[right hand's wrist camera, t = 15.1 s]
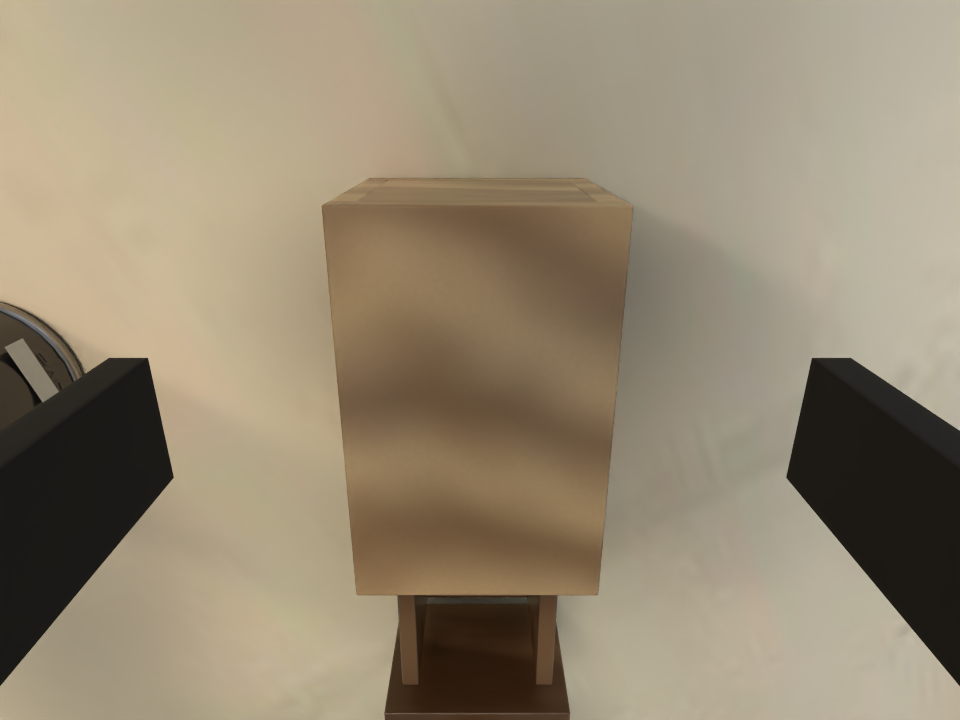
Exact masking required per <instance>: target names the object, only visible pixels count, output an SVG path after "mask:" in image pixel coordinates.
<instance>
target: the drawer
mask: <svg viewBox="0 0 960 720" xmlns="http://www.w3.org/2000/svg"><path fill="white" fill-rule="evenodd" d="M397 597H398V614H399V624H398V630H397V637H396V643H395V649H394V656H393V662H392V669H391V675H390V681H389V688H388V694H387V700H386V707H385V713H384V714H385V720H570V710H569V703H568V696H567V690H566V683H565V677H564V670H563V664H562V657H561V651H560V644H559V638H558V631H557V625H556V610H557V595H397ZM428 597H527V602H528V604H427V601H428Z"/></svg>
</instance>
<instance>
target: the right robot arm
mask: <svg viewBox="0 0 960 720" xmlns="http://www.w3.org/2000/svg"><path fill="white" fill-rule="evenodd" d="M173 478H174V477H173V472H172V467H171V463H170V458H169V454H168V449H167V444H166V440H165V435H164V430H163V426H162V421H161V416H160V412H159V407H158V403H157V398H156V393H155V389H154V384H153V379H152V375H151V370H150V366H149V361H148V358H108V359H107V360H106V361H104V362H103V363H101V364H100V365H98V366H97V367H95V368H94V369H92V370H91V371H89V372H88V373H86V374H85V375H83V376H82V377H80V378H79V379H77V380H76V381H74V382H73V383H71V384H70V385H68V386H67V387H65V388H64V389H62V390H61V391H59V392H58V393H56V394H55V395H53V396H52V397H50V398H49V399H47V400H46V401H44V402H43V403H41V404H40V405H38V406H37V407H35V408H34V409H32V410H31V411H29V412H28V413H26V414H25V415H23V416H22V417H20V418H19V419H17V420H16V421H14V422H13V423H12V424H10V425H9V426H7V427H6V428H4V429H3V430H1V431H0V686H1V684H2V683H3V682H4V681H5V680H6V678H7V677H8V676H9V675H10V674H11V672H12V671H13V670H14V669H15V668H16V666H17V665H18V664H19V663H20V662H21V660H22V659H23V658H24V657H25V656H26V654H27V653H28V652H29V651H30V650H31V648H32V647H33V646H34V645H35V644H36V642H37V641H38V640H39V639H40V638H41V636H42V635H43V634H44V633H45V632H46V630H47V629H48V628H49V627H50V626H51V624H52V623H53V622H54V621H55V620H56V618H57V617H58V616H59V615H60V614H61V612H62V611H63V610H64V609H65V608H66V606H67V605H68V604H69V603H70V602H71V600H72V599H73V598H74V597H75V596H76V594H77V593H78V592H79V591H80V590H81V588H82V587H83V586H84V585H85V583H86V582H87V581H88V580H89V579H90V577H91V576H92V575H93V574H94V573H95V571H96V570H97V569H98V568H99V567H100V565H101V564H102V563H103V562H104V561H105V559H106V558H107V557H108V556H109V555H110V553H111V552H112V551H113V550H114V549H115V547H116V546H117V545H118V544H119V543H120V541H121V540H122V539H123V538H124V537H125V535H126V534H127V533H128V532H129V531H130V529H131V528H132V527H133V526H134V525H135V523H136V522H137V521H138V520H139V519H140V517H141V516H142V515H143V514H144V513H145V511H146V510H147V509H148V508H149V507H150V505H151V504H152V503H153V502H154V501H155V499H156V498H157V497H158V496H159V495H160V493H161V492H162V491H163V490H164V489H165V487H166V486H167V485H168V484H169V483H170V481H171V480H172V479H173ZM786 478H787V479H788V480H789V481H790V483H791V484H792V485H793V486H794V487H795V489H796V490H797V491H798V492H799V493H800V495H801V496H802V497H803V498H804V499H805V501H806V502H807V503H808V504H809V505H810V507H811V508H812V509H813V510H814V511H815V513H816V514H817V515H818V516H819V517H820V519H821V520H822V521H823V522H824V523H825V525H826V526H827V527H828V528H829V529H830V531H831V532H832V533H833V534H834V535H835V537H836V538H837V539H838V540H839V541H840V543H841V544H842V545H843V546H844V547H845V549H846V550H847V551H848V552H849V553H850V555H851V556H852V557H853V558H854V559H855V561H856V562H857V563H858V564H859V565H860V567H861V568H862V569H863V570H864V571H865V573H866V574H867V575H868V576H869V577H870V579H871V580H872V581H873V582H874V583H875V585H876V586H877V587H878V588H879V590H880V591H881V592H882V593H883V594H884V596H885V597H886V598H887V599H888V600H889V602H890V603H891V604H892V605H893V606H894V608H895V609H896V610H897V611H898V612H899V614H900V615H901V616H902V617H903V618H904V620H905V621H906V622H907V623H908V624H909V626H910V627H911V628H912V629H913V630H914V632H915V633H916V634H917V635H918V636H919V638H920V639H921V640H922V641H923V642H924V644H925V645H926V646H927V647H928V648H929V650H930V651H931V652H932V653H933V654H934V656H935V657H936V658H937V659H938V660H939V662H940V663H941V664H942V665H943V666H944V668H945V669H946V670H947V671H948V672H949V674H950V675H951V676H952V677H953V678H954V680H955V681H956V682H957V683H958V684H959V686H960V431H959V430H957V429H956V428H954V427H953V426H951V425H950V424H948V423H947V422H946V421H944V420H943V419H941V418H940V417H938V416H937V415H935V414H934V413H932V412H931V411H929V410H928V409H926V408H925V407H923V406H922V405H920V404H919V403H917V402H916V401H914V400H913V399H911V398H910V397H908V396H907V395H905V394H904V393H902V392H901V391H899V390H898V389H896V388H895V387H893V386H892V385H890V384H889V383H887V382H886V381H884V380H883V379H881V378H880V377H878V376H877V375H875V374H874V373H872V372H871V371H869V370H868V369H866V368H865V367H863V366H862V365H860V364H859V363H857V362H856V361H854V360H853V359H852V358H812V361H811V366H810V370H809V375H808V379H807V384H806V389H805V393H804V398H803V403H802V407H801V412H800V416H799V421H798V426H797V430H796V435H795V440H794V444H793V449H792V454H791V458H790V463H789V467H788V472H787V477H786Z"/></svg>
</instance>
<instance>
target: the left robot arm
mask: <svg viewBox="0 0 960 720" xmlns="http://www.w3.org/2000/svg"><path fill="white" fill-rule="evenodd" d="M82 376H83V375H82V373H81V370H80V368H79V366H78V364H77V362H76V360H75V359H74V357H73V356H72V354H71V352H70V351H69V350H68V348H67V347H66V346H65V344H64V343H63V342H62V341H61V340H60V339H59V338H58V337H57V336H56V335H55V334H54V333H53V332H52V331H51V330H50V329H49V328H47V327H46V326H45V325H44V324H42V323H41V322H39V321H38V320H37V319H35V318H34V317H32V316H30V315H29V314H27V313H25V312H23V311H21V310H19V309H17V308H14V307H12V306H10V305H7V304H4V303H0V431H1V430H3V429H4V428H6V427H7V426H9V425H10V424H12V423H13V422H14V421H16V420H17V419H19V418H20V417H22V416H23V415H25V414H26V413H28V412H29V411H31V410H32V409H34V408H35V407H37V406H38V405H40V404H41V403H43V402H44V401H46V400H47V399H49V398H50V397H52V396H53V395H55V394H56V393H58V392H59V391H61V390H62V389H64V388H65V387H67V386H68V385H70V384H71V383H73V382H74V381H76V380H77V379H79V378H80V377H82Z"/></svg>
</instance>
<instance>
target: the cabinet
mask: <svg viewBox="0 0 960 720" xmlns="http://www.w3.org/2000/svg"><path fill="white" fill-rule="evenodd" d="M322 215H323V226H324V237H325V249H326V260H327V271H328V282H329V293H330V304H331V315H332V327H333V338H334V349H335V360H336V371H337V382H338V393H339V405H340V416H341V427H342V438H343V449H344V460H345V471H346V482H347V494H348V505H349V516H350V527H351V538H352V549H353V560H354V572H355V583H356V593H357V595H598V590H599V579H600V568H601V557H602V546H603V535H604V524H605V513H606V502H607V491H608V480H609V469H610V458H611V447H612V436H613V425H614V414H615V403H616V392H617V381H618V370H619V359H620V348H621V338H622V327H623V316H624V305H625V294H626V283H627V272H628V261H629V250H630V239H631V228H632V217H633V206H632V205H630V204H629V203H627V202H625V201H623V200H622V199H620V198H618V197H616V196H615V195H613V194H611V193H610V192H608V191H606V190H605V189H603V188H601V187H600V186H598V185H596V184H595V183H593V182H591V181H589V180H588V179H563V178H369V179H367V180H365V181H364V182H362V183H360V184H359V185H357V186H355V187H353V188H352V189H350V190H348V191H347V192H345V193H343V194H341V195H340V196H338V197H336V198H335V199H333V200H331V201H329V202H327V203H326V204H324V205H322Z"/></svg>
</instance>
